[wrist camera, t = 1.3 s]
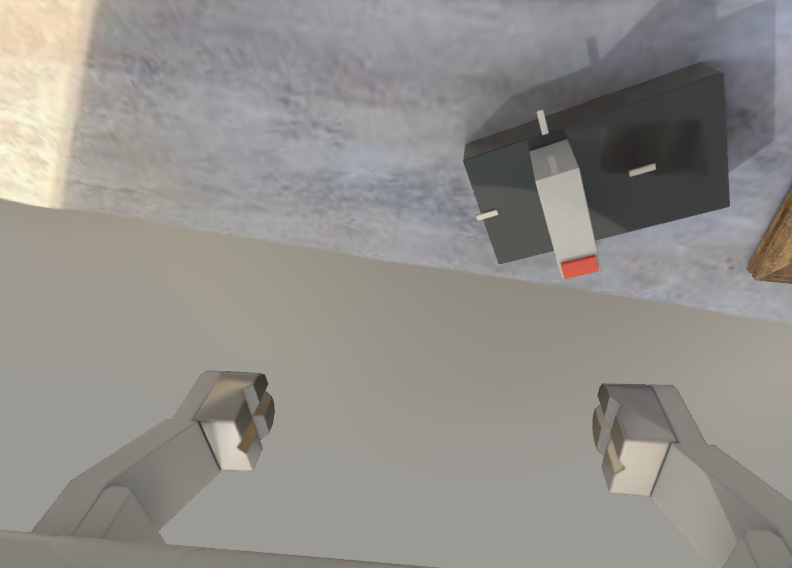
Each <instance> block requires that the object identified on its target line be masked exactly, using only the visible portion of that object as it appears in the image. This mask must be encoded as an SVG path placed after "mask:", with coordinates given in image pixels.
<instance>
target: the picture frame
mask: <svg viewBox="0 0 792 568" xmlns="http://www.w3.org/2000/svg"><path fill="white" fill-rule="evenodd" d="M747 270H748V271H749V273H753V274H752V276H753V278H754V279H755V280H760V281H770V282H780V283H790V284H792V187H791V188H790V190H789V192H788V194H787V196H786V198H785V199H784V201H783V203H782V205H781V207H780V209H779V210H778V212H777V214H776V216H775V218H774V219H773V221H772V223H771V225H770V227H769V229H768V230H767V232H766V234H765V236H764V238H763V240H762V241H761V243H760V245H759V247H758V249H757V251H756V252H755V254H754V256H753V258H752V260H751V262H750V263H749V265H748V267H747Z"/></svg>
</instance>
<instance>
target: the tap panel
mask: <svg viewBox="0 0 792 568" xmlns="http://www.w3.org/2000/svg"><path fill="white" fill-rule="evenodd" d="M537 116H538V119H537V120H534V121H532V122H529V123H526V124H523V125H520V126H517V127H514V128H512V129H509V130H506V131H503V132H500V133H497V134H494V135H492V136H489V137H486V138H483V139H480V140H477V141H474V142H472V143H469V144H466V145H465V151H464V158H463V162H464V165H465V168H466V171H467V174H468V177H469V180H470V182H471V185H472V188H473V191H474V194H475V197H476V200H477V203H478V205H479V208H480V211H481V214H479V215H476V218H477V221H479V220H482V219H483V220H484V223H485V226H486V229H487V231H488V234H489V237H490V240H491V243H492V246H493V249H494V252H495V254H496V257H497V260H498V263H499V264H502V263H506V262H510V261H514V260H518V259H522V258H526V257H530V256H534V255H538V254H542V253H546V252H550V251H554V249H553V245H552V241H551V238H550V234H549V230H548V227H547V223H546V219H545V216H544V212H543V208H542V204H541V201H540V197H539V193H538V190H537V186H536V182H535V178H534V172H533V167H532V162H531V157H530V151H532V150H536V149H539V148H542V147H545V146H548V145H551V144H554V143H557V142H560V141H563V140H566V139H568V141H569V144H570V146H571V149H572V151H573V153H574V156H575V158H576V161H577V163H578V166H579V168H580V173H581V177H582V182H583V186H584V191H585V196H586V200H587V205H588V210H589V214H590V219H591V223H592V228H593V233H594V237H595V240H598V239H602V238H606V237H610V236H614V235H618V234H622V233H626V232H630V231H634V230H638V229H642V228H646V227H650V226H654V225H658V224H662V223H666V222H670V221H674V220H678V219H682V218H686V217H690V216H694V215H698V214H702V213H706V212H710V211H714V210H718V209H722V208H726V207H729V206H730V200H729V179H728V158H727V137H726V116H725V95H724V74H723V72H721V71H719V70H717V69H715V68H714V67H712V66H710V65H708V64H706V63H704V62H700V63H697V64H694V65H691V66H688V67H686V68H683V69H680V70H677V71H674V72H671V73H668V74H666V75H663V76H660V77H657V78H654V79H651V80H648V81H646V82H643V83H640V84H637V85H634V86H631V87H629V88H626V89H623V90H620V91H617V92H614V93H611V94H609V95H606V96H603V97H600V98H597V99H594V100H591V101H589V102H586V103H583V104H580V105H577V106H574V107H571V108H569V109H566V110H563V111H560V112H557V113H554V114H551V115H549V116H546V117H545V116H544V111H543V109H542V110H539V111H537Z"/></svg>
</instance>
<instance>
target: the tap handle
mask: <svg viewBox="0 0 792 568" xmlns="http://www.w3.org/2000/svg"><path fill="white" fill-rule="evenodd" d="M530 157H531V162H532V167H533V172H534V178H535V182H536V186H537V190H538V193H539V197H540V201H541V204H542V208H543V212H544V216H545V219H546V223H547V227H548V230H549V234H550V238H551V241H552V245H553V249H554V252H555V256H556V260H557V263H558V267H559V271H560V274H561V278H562V279H567V278H571V277H576V276H580V275H584V274H589V273H593V272H598V271H601V265H600V260H599V256H598V251H597V246H596V242H595V237H594V233H593V228H592V223H591V219H590V214H589V210H588V205H587V200H586V196H585V191H584V186H583V182H582V177H581V173H580V168H579V166H578V163H577V161H576V158H575V156H574V153H573V151H572V149H571V146H570V144H569V141H568V139H566V140H563V141H560V142H557V143H554V144H551V145H548V146H545V147H542V148H539V149H536V150H532V151H530Z"/></svg>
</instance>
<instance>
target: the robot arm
mask: <svg viewBox="0 0 792 568" xmlns="http://www.w3.org/2000/svg"><path fill="white" fill-rule="evenodd" d="M267 385H268V382H267V380H266V377H265V375H264V374H261V373H248V372H230V371H225V372H223V371H205V372H204V373H202V374H201V375H200V377H199V378H198V380H197V381H196V383H195V384H194V386H193V387H192V389H191V390H190V392H189V393H188V395H187V396H186V398H185V399H184V401H183V402H182V404H181V406H180V407H179V408H178V410H177V411H176V413H175V415H174V416H173V418H172V419H170V420H169V419H166V420H164V421H162V422H161V423H159V424H158V425H156V426H155V427H153V428H152V429H150V430H148V431H147V432H145V433H144V434H142V435H141V436H139V437H138V438H136V439H135V440H133V441H132V442H130V443H128V444H127V445H125V446H124V447H122V448H121V449H119V450H118V451H116V452H115V453H113V454H111V455H110V456H108V457H107V458H105V459H104V460H102V461H101V462H99V463H98V464H96V465H95V466H93V467H91V468H90V469H88V470H87V471H85V472H84V473H82V474H80V475H79V476H77V477H76V478H74V479H73V480H71V481H70V482H69V484H68V485H67V486H66V488H65V489H64V490H63V491H62V493H61V494H60V495H59V496H58V498H57V499H56V500H55V502H54V503H53V504H52V506H51V507H50V508H49V510H48V511H47V512H46V513H45V515H44V516H43V517H42V518H41V520H40V521H39V522H38V524H37V525H36V526H35V527H34V529H33V530H32V531H31V532H20V531H9V530H0V568H437V567H426V566H414V565H402V564H390V563H379V562H367V561H355V560H344V559H331V558H320V557H308V556H297V555H286V554H274V553H263V552H250V551H239V550H227V549H216V548H205V547H193V546H181V545H169V544H166V543H165V541H164V540H163V538H162V537H161V535H160V534H159V532H158V531H159V530H160V529H161V528H162V527H163V526H164V525H165V524H166V523H167V522H168V521H169V520H170V519H172V518H173V517H174V516H175V515H176V514H177V513H178V512H179V511H180V510H181V509H182V508H183V507H184V506H185V505H186V504H187V503H188V502H189V501H191V500H192V499H193V498H194V497H195V496H196V495H197V494H198V493H199V492H200V491H201V490H202V489H203V488H204V487H205V486H206V485H207V484H208V483H209V482H211V481H212V480H213V479H214V478H215V477H216V476H217V475H218V474H219V473H220V470H226V471H253V470H254V468H255V465H256V463H257V461H258V458H259V456H260V454H261V451H262V445H261V442H260V440H261V439H262V438H264V437H265V436H266V435H268V434H269V432H270V429H271V427H272V424H273V419H274V413H275V410H274V402H273V398H272V396H271V395H270V394H268V393H267V392H266V391H265V390H266V387H267ZM598 397H599V401H600V405H599V406H598V407H597V408H595V410H594V415H593V436H594V441H595V445H596V449H597V450H598V451H599V452H600V453H601V454H602V455H603V456H604V459H603V464H602V470H603V473H604V477H605V480H606V483H607V487H608V490H609V493H612V494H623V495H635V496H646V497H651V498H650V499H651V500H652V501H653V503H655V504H656V506H657V507H658V508H659V509H660V510H661V511H662V512H663V513H664V515H665V516H666V517H667V518H668V519H669V520H670V521H671V522H672V523H673V524H674V526H675V527H676V528H677V529H678V530H679V531H680V532H681V533H682V534H683V535H684V536H685V538H687V540H688V541H689V542H690V543H691V544H692V545H693V546H694V547H695V548H696V550H697V551H698V552H699V553H700V554H701V555H702V556H703V557H704V558H705V559H706V560H707V562H708V563H709V564H710V565H711V566H712V567H713V568H792V502H791V501H790V500H789V499H787V498H786V497H785V496H783V495H782V494H781V493H779V492H778V491H776V490H775V489H774V488H772V487H771V486H770V485H768V484H767V483H766V482H764V481H763V480H761V479H760V478H759V477H757V476H756V475H754V474H753V473H752V472H751V471H749V470H748V469H746V468H745V467H744V466H742V465H741V464H740V463H738V462H737V461H735V460H734V459H733V458H731V457H730V456H729V455H727V454H726V453H724V452H723V451H722V450H720V449H719V448H718V447H717V446H715V445H707V443H706V442H705V440H704V438H703V436H702V434H701V433H700V430H699V429H698V427H697V425H696V423H695V421H694V419H693V418H692V415H691V414H690V412H689V410H688V408H687V406H686V404H685V402H684V400H683V399H682V397H681V395H680V393H679V391H678V389H677V388H676V387H675V386H673V385H645V384H643V385H642V384H602V385H601V387H600V388H599V392H598Z"/></svg>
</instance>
